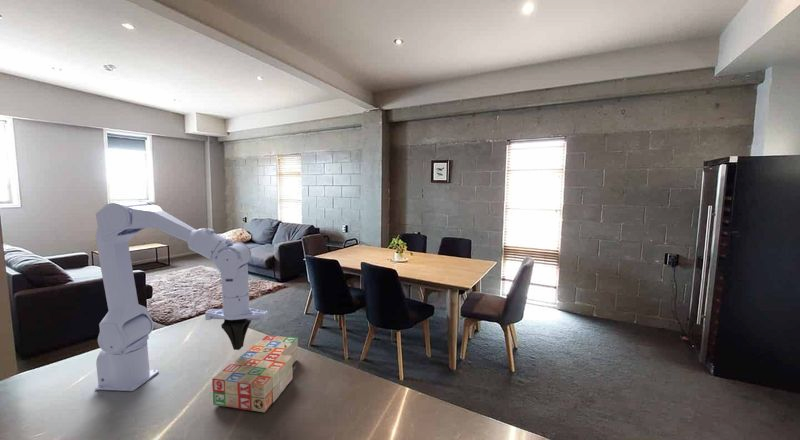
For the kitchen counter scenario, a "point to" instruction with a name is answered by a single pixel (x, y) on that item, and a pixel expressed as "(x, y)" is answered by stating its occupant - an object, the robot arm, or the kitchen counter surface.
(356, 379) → the kitchen counter surface
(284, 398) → the kitchen counter surface
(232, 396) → the stack of blocks
